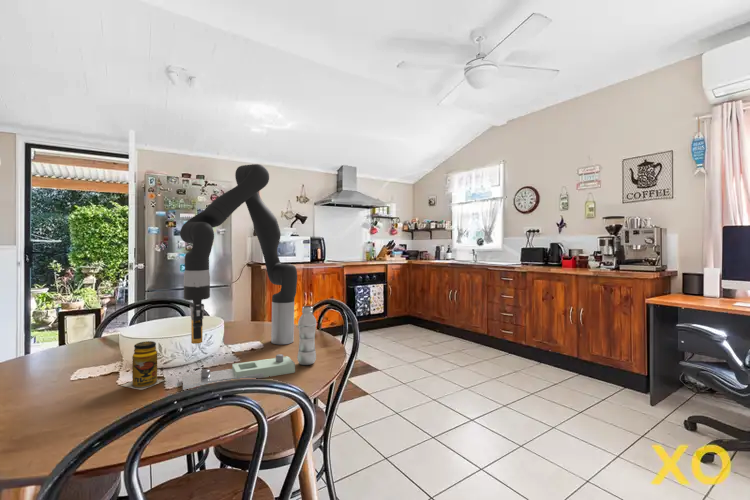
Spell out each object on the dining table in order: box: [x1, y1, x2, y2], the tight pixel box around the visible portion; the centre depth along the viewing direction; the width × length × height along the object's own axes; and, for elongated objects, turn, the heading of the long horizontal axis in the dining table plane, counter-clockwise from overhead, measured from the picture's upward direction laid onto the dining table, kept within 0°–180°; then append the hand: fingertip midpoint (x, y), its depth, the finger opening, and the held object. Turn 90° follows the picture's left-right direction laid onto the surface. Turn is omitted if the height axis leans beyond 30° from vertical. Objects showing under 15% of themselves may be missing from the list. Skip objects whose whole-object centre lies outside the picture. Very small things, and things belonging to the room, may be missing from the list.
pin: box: [190, 315, 204, 345], centre depth 113 cm, size 3×3×9 cm
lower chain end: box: [181, 367, 264, 391], centre depth 107 cm, size 8×22×4 cm, turn 120°
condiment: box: [120, 340, 165, 391], centre depth 103 cm, size 7×8×12 cm
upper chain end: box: [231, 353, 296, 378], centre depth 113 cm, size 8×18×5 cm, turn 120°
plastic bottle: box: [296, 305, 317, 366], centre depth 122 cm, size 6×7×20 cm
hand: (197, 337), depth 113 cm, fingers closed on pin, 3 cm apart
